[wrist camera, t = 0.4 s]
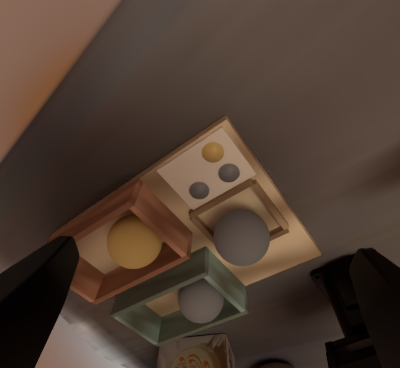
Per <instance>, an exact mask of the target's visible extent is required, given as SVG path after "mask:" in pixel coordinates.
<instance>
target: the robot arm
mask: <svg viewBox="0 0 400 368" xmlns="http://www.w3.org/2000/svg"><path fill="white" fill-rule="evenodd" d="M79 257H80V256H79V251H78V248H77V245H76V242H75V239H74V237H73V236H63V235H62V236H58V237H56V238H55V239H53V240H52V241H50V242H49V243H47V244H46V245H44V246H42V247H41V248H39V249H38V250H36V251H35V252H33V253H31V254H30V255H28V256H27V257H25V258H24V259H22V260H21V261H19V262H17V263H16V264H14V265H13V266H11V267H10V268H8V269H7V270H5V271H3V272H2V273H0V368H35V366H36V363H37V361H38V359H39V357H40V355H41V353H42V351H43V349H44V346H45V344H46V342H47V340H48V338H49V336H50V333H51V331H52V329H53V327H54V325H55V323H56V321H57V318H58V316H59V314H60V312H61V310H62V307H63V305H64V303H65V300H66V297H67V294H68V291H69V288H70V286H71V283H72V280H73V277H74V274H75V271H76V268H77V265H78V262H79ZM311 276H312V279H313V280H314V282H315V283H316V284H317V285H318V287H319V288H320V289H321V290H322V292H323V293H324V294H325V296H326V297H327V298H328V299H329V301H330V302H331V304H332V306H333V309H334V311H335V314H336V316H337V319H338V321H339V324H340V326H341V329H342V331H343V334H344V336H345V338H342V339H339V340H336V341H333V342H331V341H329V342H327V343H325V346H326V356H327V361H328V367H329V368H400V268H399V267H398V266H396V265H395V264H394V263H392V262H391V261H390V260H388V259H387V258H385V257H384V256H383V255H381V254H380V253H378V252H377V251H376V250H374V249H365V248H360V249H358V250H357V251H356V254H355V255H354V256H352V257H349V258H347V259H344V260H341V261H339V262H336V263H334V264H331V265H329V266H326V267H324V268H321V269H318V270H316V271H313V272H312V273H311Z"/></svg>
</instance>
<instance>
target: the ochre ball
mask: <svg viewBox="0 0 400 368" xmlns="http://www.w3.org/2000/svg"><path fill="white" fill-rule="evenodd" d="M161 247H162V239H161V238H160V237H159V236H158V235H157V234H156V233H155V232H154V231H153V230H151V229H150V228H149V227H148V226H147V225H146V224H145V223H144V222H143V221H142V220H141V219H140V218H139V217H137V216H136V215H135V214H129V215H126V216H124V217H122V218H120V219H119V220H117V221H116V222H115V223H114V224H113V226H112V227H111V229H110V231H109V233H108V236H107V249H108V252H109V254H110V256H111V258H112V259H113V260H114V261H115V262H116V263H117V264H118V265H120V266H122V267H124V268H128V269H139V268H142V267H145V266H147V265H149V264H150V263H151V262H153V261H154V260H155V259H156V257H157V256H158V254H159V252H160V250H161Z"/></svg>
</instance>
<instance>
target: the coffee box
mask: <svg viewBox="0 0 400 368" xmlns="http://www.w3.org/2000/svg"><path fill="white" fill-rule="evenodd" d="M156 368H235V357H234V354H233V351H232V348H231V346H230V343H229V340H228V338H227V335H226V334H215V335H205V336H195V337H185V338H180V339H177V340H174V341H172V342H169V343H166V344H163V345H161V346H159V353H158V360H157V367H156Z"/></svg>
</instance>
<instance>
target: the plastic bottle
mask: <svg viewBox="0 0 400 368" xmlns="http://www.w3.org/2000/svg"><path fill="white" fill-rule="evenodd" d="M258 368H292V367H291V366H290V365H288V364H285V363H279V362H273V363H266V364H263V365H261V366H259V367H258Z"/></svg>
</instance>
